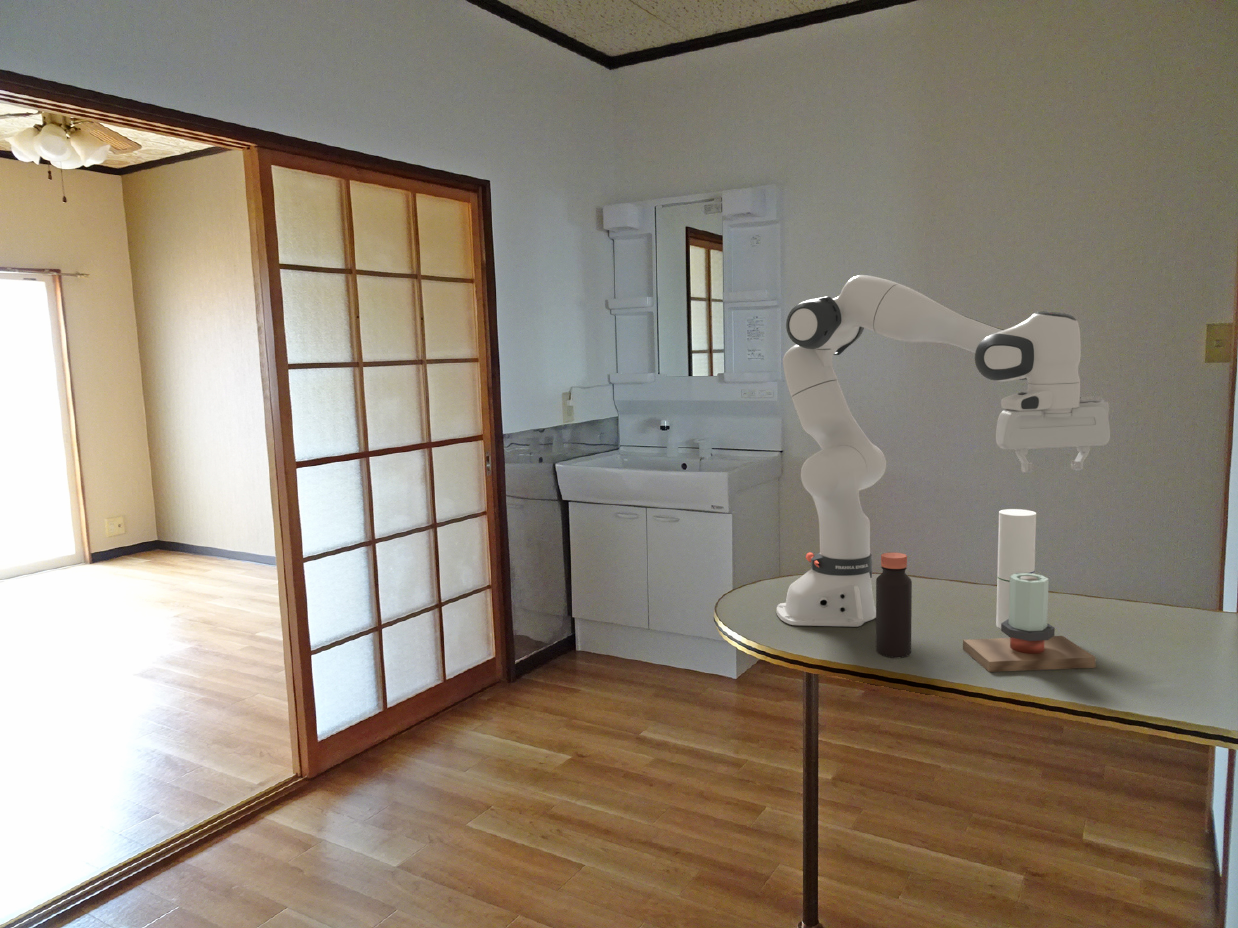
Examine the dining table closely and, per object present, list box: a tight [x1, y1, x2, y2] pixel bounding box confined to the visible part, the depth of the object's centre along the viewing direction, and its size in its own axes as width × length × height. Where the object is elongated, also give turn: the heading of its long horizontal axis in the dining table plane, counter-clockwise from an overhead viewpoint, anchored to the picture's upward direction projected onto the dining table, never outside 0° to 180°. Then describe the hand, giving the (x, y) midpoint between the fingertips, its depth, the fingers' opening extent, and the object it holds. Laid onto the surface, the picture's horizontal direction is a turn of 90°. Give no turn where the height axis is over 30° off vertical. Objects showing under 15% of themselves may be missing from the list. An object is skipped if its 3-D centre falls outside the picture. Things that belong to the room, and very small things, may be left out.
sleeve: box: [1009, 573, 1050, 631], centre depth 166 cm, size 6×6×10 cm
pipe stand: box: [962, 576, 1097, 673], centre depth 166 cm, size 20×12×16 cm, turn 91°
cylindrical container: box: [995, 508, 1037, 630], centre depth 184 cm, size 7×7×25 cm
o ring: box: [1000, 619, 1056, 641], centre depth 167 cm, size 9×9×2 cm
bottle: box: [875, 551, 913, 658], centre depth 172 cm, size 7×7×20 cm
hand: (1051, 470), depth 164 cm, fingers open, 8 cm apart
